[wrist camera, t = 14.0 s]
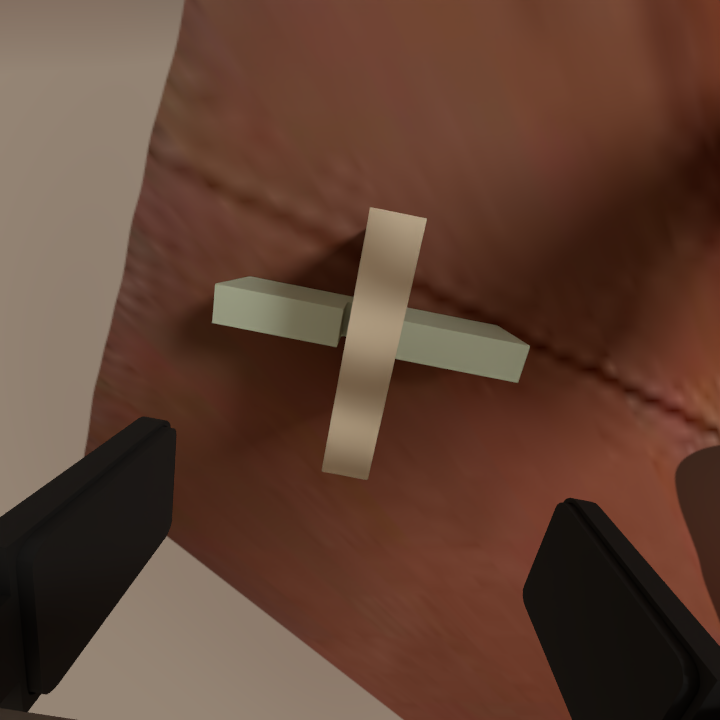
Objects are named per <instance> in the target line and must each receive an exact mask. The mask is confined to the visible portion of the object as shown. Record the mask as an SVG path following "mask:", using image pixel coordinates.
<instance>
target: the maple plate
mask: <svg viewBox="0 0 720 720" xmlns="http://www.w3.org/2000/svg"><path fill="white" fill-rule="evenodd" d="M426 221H427V219H426V218H421V217H416V216H411V215H406V214H401V213H396V212H391V211H386V210H381V209H376V208H371V207H370V212H369V217H368V223H367V228H366V233H365V239H364V244H363V250H362V255H361V260H360V266H359V271H358V277H357V282H356V288H355V293H354V298H353V304H352V309H351V315H350V320H349V325H348V331H347V336H346V342H345V347H344V352H343V358H342V363H341V369H340V374H339V380H338V385H337V390H336V396H335V401H334V407H333V412H332V417H331V423H330V428H329V434H328V439H327V445H326V450H325V455H324V461H323V466H322V472H328V473H333V474H338V475H343V476H349V477H354V478H359V479H364V480H368V476H369V472H370V467H371V463H372V458H373V454H374V450H375V445H376V441H377V436H378V432H379V428H380V423H381V419H382V414H383V410H384V406H385V401H386V397H387V392H388V388H389V384H390V379H391V375H392V370H393V366H394V362H395V357H396V353H397V348H398V344H399V340H400V335H401V331H402V326H403V322H404V318H405V313H406V309H407V304H408V300H409V296H410V291H411V287H412V282H413V278H414V273H415V269H416V265H417V260H418V256H419V251H420V247H421V243H422V238H423V234H424V229H425V225H426Z"/></svg>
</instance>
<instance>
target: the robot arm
mask: <svg viewBox="0 0 720 720" xmlns="http://www.w3.org/2000/svg"><path fill="white" fill-rule="evenodd" d="M175 451H176V430H175V429H174V428H170V423H169V422H168V421H165V420H160V419H154V418H149V417H141V418H139V419H137V420H136V421H134V422H133V423H132V424H130V425H129V426H127V427H126V428H125V429H123V430H122V431H120V432H119V433H118V434H116V435H115V436H113V437H112V438H111V439H109V440H108V441H106V442H105V443H104V444H102V445H101V446H99V447H98V448H97V449H95V450H94V451H92V452H91V453H90V454H88V455H87V456H85V457H84V458H83V459H81V460H80V461H78V462H77V463H76V464H74V465H73V466H71V467H70V468H69V469H67V470H66V471H64V472H63V473H62V474H60V475H59V476H57V477H56V478H55V479H53V480H52V481H50V482H49V483H47V484H46V485H45V486H43V487H42V488H40V489H39V490H38V491H36V492H35V493H33V494H32V495H31V496H29V497H28V498H26V499H25V500H24V501H22V502H21V503H19V504H18V505H17V506H15V507H14V508H13V509H11V510H10V511H8V512H7V513H5V514H4V515H3V516H1V517H0V720H75V719H68V718H61V717H55V716H48V715H42V714H35V713H29V712H28V711H29V709H30V708H31V707H32V705H33V704H34V703H35V701H36V700H37V699H38V697H39V696H40V695H41V694H48V693H50V692H51V691H52V690H53V689H54V688H55V687H56V686H57V685H58V684H59V682H60V681H61V680H62V678H63V677H64V675H65V674H66V673H67V671H68V670H69V669H70V667H71V666H72V665H73V663H74V662H75V660H76V659H77V658H78V656H79V655H80V653H81V652H82V651H83V650H84V648H85V647H86V645H87V644H88V643H89V641H90V640H91V639H92V637H93V636H94V634H95V633H96V632H97V630H98V629H99V628H100V626H101V625H102V624H103V622H104V621H105V619H106V618H107V617H108V615H109V614H110V613H111V611H112V610H113V608H114V607H115V606H116V604H117V603H118V602H119V600H120V599H121V598H122V596H123V595H124V594H125V592H126V591H127V589H128V588H129V586H130V585H131V584H132V582H133V581H134V580H135V578H136V577H137V576H138V574H139V573H140V572H141V570H142V569H143V567H144V566H145V565H146V563H147V562H148V560H149V559H150V558H151V557H152V555H153V554H154V552H155V551H156V550H157V548H158V547H159V546H160V544H161V543H162V541H163V540H164V539H165V537H166V536H167V534H168V532H169V529H170V526H171V522H172V507H173V489H174V470H175ZM523 600H524V604H525V607H526V609H527V612H528V614H529V617H530V619H531V622H532V624H533V626H534V629H535V631H536V634H537V636H538V638H539V641H540V643H541V646H542V648H543V650H544V653H545V655H546V658H547V660H548V663H549V665H550V667H551V670H552V672H553V675H554V677H555V679H556V682H557V684H558V687H559V689H560V691H561V694H562V696H563V699H564V701H565V704H566V706H567V708H568V711H569V713H570V716H571V718H572V720H720V646H719V645H718V644H717V643H716V641H715V640H714V639H713V638H712V637H711V636H710V635H709V633H708V632H707V631H706V630H705V629H704V628H703V626H702V625H701V624H700V623H699V622H698V621H697V619H696V618H695V617H694V616H693V615H692V614H691V612H690V611H689V610H688V609H687V608H686V607H685V606H684V604H683V603H682V602H681V601H680V600H679V599H678V597H677V596H676V595H675V594H674V593H673V592H672V590H671V589H670V588H669V587H668V586H667V585H666V583H665V582H664V581H663V580H662V579H661V578H660V577H659V575H658V574H657V573H656V572H655V571H654V570H653V568H652V567H651V566H650V565H649V564H648V563H647V561H646V560H645V559H644V558H643V557H642V556H641V554H640V553H639V552H638V551H637V550H636V549H635V548H634V546H633V545H632V544H631V543H630V542H629V541H628V539H627V538H626V537H625V536H624V535H623V534H622V532H621V531H620V530H619V529H618V528H617V527H616V525H615V524H614V523H613V522H612V521H611V520H610V519H609V517H608V516H607V515H606V514H605V513H604V512H603V510H602V509H601V508H600V507H599V506H598V505H597V504H596V503H593V502H589V501H584V500H579V499H573V498H568V499H566V500H565V501H564V502H563V503H559V504H558V505H557V506H556V508H555V511H554V513H553V516H552V518H551V521H550V523H549V526H548V528H547V531H546V533H545V536H544V538H543V540H542V543H541V545H540V548H539V550H538V553H537V555H536V558H535V560H534V563H533V565H532V568H531V570H530V573H529V575H528V578H527V580H526V583H525V585H524V588H523Z"/></svg>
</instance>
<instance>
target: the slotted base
mask: <svg viewBox="0 0 720 720" xmlns="http://www.w3.org/2000/svg"><path fill="white" fill-rule="evenodd" d="M353 298H354V297H352V296H347V295H342V294H337V293H332V292H327V291H322V290H317V289H312V288H306V287H301V286H296V285H291V284H286V283H281V282H276V281H271V280H266V279H261V278H256V277H251V276H249V277H244V278H240V279H235V280H230V281H226V282H221V283H217V284H215V294H214V307H213V319H212V323H216V324H221V325H226V326H231V327H236V328H241V329H246V330H251V331H256V332H261V333H266V334H272V335H277V336H282V337H287V338H292V339H297V340H302V341H307V342H312V343H317V344H322V345H327V346H333V347H337V345H338V343H339V340H340V338H341V336H345V337H346V336H347V331H348V325H349V320H350V315H351V309H352V304H353ZM529 348H530V346H529V345H528V344H526V343H524V342H523V341H521V340H520V339H518V338H517V337H515V336H513V335H512V334H510V333H509V332H507V331H505V330H504V329H502V328H501V327H499V326H498V325H493V324H488V323H483V322H478V321H473V320H468V319H463V318H458V317H453V316H447V315H442V314H437V313H432V312H427V311H422V310H417V309H412V308H407V309H406V313H405V318H404V322H403V326H402V331H401V335H400V340H399V344H398V348H397V353H396V357H395V359H399V360H404V361H409V362H414V363H419V364H424V365H429V366H434V367H439V368H444V369H450V370H455V371H460V372H465V373H470V374H475V375H480V376H485V377H490V378H495V379H500V380H506V381H511V382H516V383H518V381H519V378H520V375H521V372H522V369H523V366H524V363H525V360H526V357H527V354H528V351H529Z"/></svg>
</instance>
